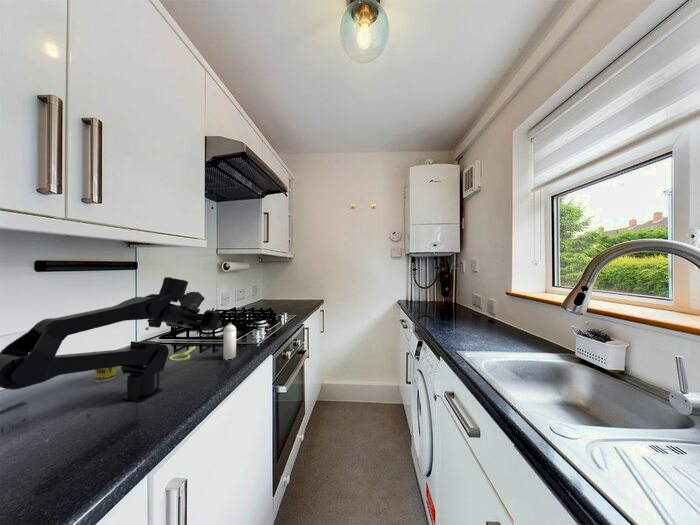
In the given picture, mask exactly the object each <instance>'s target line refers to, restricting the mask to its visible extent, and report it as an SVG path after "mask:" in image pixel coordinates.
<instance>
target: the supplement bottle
mask: <svg viewBox="0 0 700 525" xmlns="http://www.w3.org/2000/svg"><path fill="white" fill-rule="evenodd" d="M107 351H109V350H107ZM94 371H95V372H94V381H95V382H96V383H104V382H109V381H112V380H114V379H115V378H116V377H117V367H111V368H104V369H98V370H94Z"/></svg>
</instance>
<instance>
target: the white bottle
mask: <svg viewBox="0 0 700 525" xmlns="http://www.w3.org/2000/svg"><path fill="white" fill-rule="evenodd" d="M222 355H223V356H222V358H223V360H224V359H225V360H224V361H229V360H228V359H232V360H234V359H233V358H235V357H236V358H237V328H236V326H235V325H233V323H232V322H229V323H228V324H227V325H226V326H224V328H223V354H222ZM236 358H235V359H236Z"/></svg>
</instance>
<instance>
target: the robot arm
mask: <svg viewBox="0 0 700 525" xmlns="http://www.w3.org/2000/svg"><path fill="white" fill-rule="evenodd" d="M188 285H189V281H187V280H185V279H179V278H173V277H170V276H165V277H164V278H163V280H162V285H161V287H160V290H159V292H158V294H157V293H151V294H148V295H146V296H145V295H144V296H134V297H132V298H128V299H126V300H124V301H122V302H120V303H119V304H116V305H113V306H109V307H104V308H100V309H94V310H93V309H92V310H89V311H84V312H78V313H74V314H68V315H64V316H59V317H49V318H48V317H47V318H45V319H42V320H40V321H38V322H37V323H35V324H34V325H33V327H31V328H30V329H29V330H28V331H27V332H25V333H24V334H22V335H21V336H19V337H18V338H16V339H14V340H13V341H12V342H10V343H9V344H7V345H6V346H5V347H4V348H3V349H2V350H1V351H0V388H1V389H5V390H10V391H11V390H13V391H15V390H20V389H24V388H29V387H31V386H35V385H38V384H42V383H45V382H47V381H49V380H52V379H54V378H56V377H58V376H61V375H70V374H75V373H76V374H77V373H83V372H84V373H85V372H89V371H95V370H98V369H104V368H111V367H116V368H117V367H118V368H119V367H120V369H121V371H122V374H126V375H127V374H128V375H127V379H126V380H127V381H126V382H127V383H126V384H127V385H126V394H125V395H124V396H122V397H121V400H124V401H125V400H127V401H134V402H143V401H145V400H147V399H150V398H152V397H153V396H155V395H156V394H159V393H160V392H163V390H164V388H163V387H160V376H161V375H160V373H161V372H164V369H165V367H166V363H167V360H168V358H169V357H168V356H169V353H170V352H169V348H168V345H166V344H162V342H161V341H154V340H145V339H142V340H141V341H132V340H131V341H130V346H128V347H126V348H123V349H111V350H109V351H108V350H100V351H90V352H80V353H68V354H67V353H66V354H57V353H58V351H59V349H60V347H61V345H62V343H63V341H64V340H65V339H66V338H67V337H68V336H71V335H75V334H78V333H81V332H87V331H90V330H94V329H98V328H101V327H105V326H109V325H112V324H117V323H118V324H119V323H121V322H125V321H138V320H139V321H140V320H142V321H143V320H147V323H148V327H149V328H161V325H162V323H165V324H166V326H167V327H170V328H186V327H187V328H194V326H196V325H200V329H201V330H205V331H206V330H207V331H215V330H217V328H218V327H220V326H222V325H223V322H222V320H220V316H221V312H220V311H218V310H217V309H216V310H215V309H213V310H212V309H206V310H205V311H204V312H203V313H200V312H201V308H200V306H201V305H202V304H203V302H204V301H205V297H204V295H202V294H201V292H199V291H188V292H186V290H187V289H188ZM178 302H179V304H175V303H178Z"/></svg>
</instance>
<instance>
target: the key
mask: <svg viewBox="0 0 700 525" xmlns="http://www.w3.org/2000/svg"><path fill="white" fill-rule="evenodd" d="M195 349H197V347H196V346H195V345H194V346H189V347H188V348H187V350H186V351H183V352H182V353H176V354H171V356H169V357H168V360H169V361H171V360H175V362H178V361H187V360H189V359H191V354H189V353H191V352H193V351H195ZM173 357H174V358H173ZM181 357H182V358H181Z"/></svg>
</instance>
